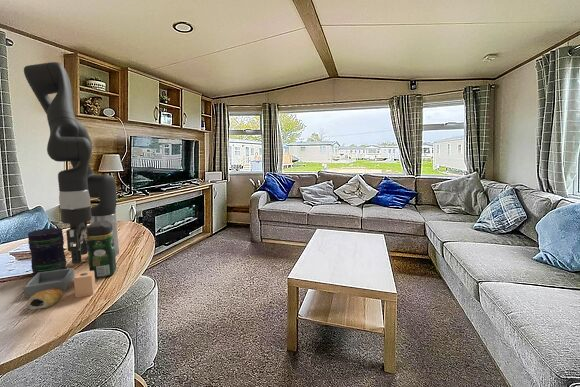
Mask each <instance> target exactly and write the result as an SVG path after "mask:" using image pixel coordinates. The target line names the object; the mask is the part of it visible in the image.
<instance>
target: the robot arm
mask: <svg viewBox="0 0 580 387" xmlns="http://www.w3.org/2000/svg"><path fill="white" fill-rule="evenodd" d="M23 73H24V77H25V80H26V81H27V83H28V84H29V87H30V89H31V90H32V92H33V94H34V95H35V97H36V99H37V102H39V104H40V105H41V107H42V109H43V111H44V112H45V114H46V119H47V123H48V127H49V132H50V133H49V137H48V142H47V146H46V152H47V155H48V156H49V158H50V159H51V160H53V161H54V162H59V163H61V162H62V163H63V162H70V164H71V166H72V168H68V169H64V170H60V171H59V172H58V173H57V180H58V181H57V183H58V191H59V192H58V194H59V195H58V202H59V203H58V204H59V212H60V221H61V223H62V224H65V225H67V224H69V229H66V231H65V233H66V242H67V243H66V244H67V245H66V246H67V252H70V254H71V264H72V265H77V264H78V265H79V264H81V263H82V261H83V260H82V256H84V255H88V249H87V241H88V239H87V238H88V237H89V236H88V226H89V225H90V224H92V223H94V222H95V221H108V222H110V223H112V225H113V226H112V227H113V238H114V249H115V256H118V254H120V248H119V236H118V234H119V233H118V227H117V226H118V225H117V223H118V222H117V215H116V211H117V210H116V208H117V184H116V180H115V178H114V177H113V176H112V175H109V174H95V173H94V171H93V170H92V168H91V164H90V161H91V157H92V151H93V142H92V139H91V137H90V136H89V133H88V131H87V129H86V127H85V125H84V124H83V123H82V122H80V121H79V120H78V119H76V115H75V111H74V101H73V91H72V83H71V80H70V76H69V74H68V72H67V70H66V68H65V67H64V66H63V65H62V64H61V63H60V62H57V61H49V62H44V63H37V64H35V63H34V64H30V65H25V66H24V68H23ZM53 94H55V96H54V98H51V96H50V95H53ZM91 198H95V199H96V198H98V199H99V203H98V204H96V205H93V206H92V205H91ZM88 222H89V225H88ZM74 245H75V246H74Z"/></svg>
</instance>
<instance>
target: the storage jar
mask: <svg viewBox="0 0 580 387" xmlns="http://www.w3.org/2000/svg"><path fill="white" fill-rule="evenodd" d="M27 237H28V238H27V239H28V246H29V250H30V255H31V270H32V271H31V272H32V276H33V277H34V276H35V275H36V274H37V273H38V272H46V271H54V270H62V269H68V268H67V259H66V254H65V249H64V244H65V240H64V239H65V238H64V234H63V229H62V228H59V227H50V228H48V227H47V228H42V229H36V230H33V231H30V232H28V233H27Z"/></svg>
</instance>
